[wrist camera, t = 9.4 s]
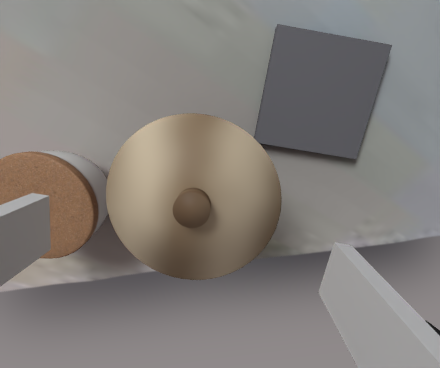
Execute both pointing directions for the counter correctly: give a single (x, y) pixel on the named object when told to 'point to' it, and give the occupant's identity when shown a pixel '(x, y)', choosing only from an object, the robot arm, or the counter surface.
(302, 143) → the mat
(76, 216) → the lidded jar
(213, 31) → the counter surface
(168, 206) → the lid
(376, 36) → the counter surface
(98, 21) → the counter surface
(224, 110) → the counter surface
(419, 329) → the robot arm
